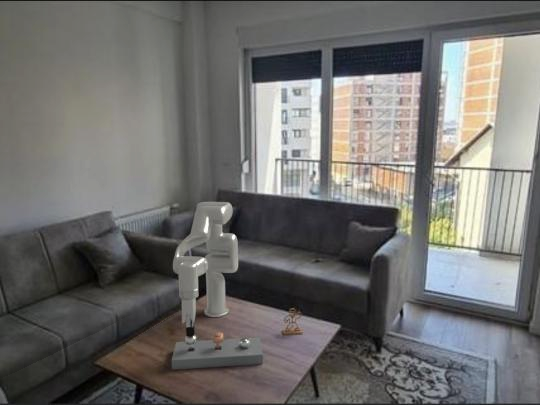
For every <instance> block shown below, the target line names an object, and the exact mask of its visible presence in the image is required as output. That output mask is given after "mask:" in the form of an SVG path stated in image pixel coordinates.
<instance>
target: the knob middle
mask: <svg viewBox="0 0 540 405" xmlns="http://www.w3.org/2000/svg"><path fill="white" fill-rule="evenodd" d="M211 339H212V340H213V342H214V343H216V348H217V349H219V348H220V343H221V342H223V339H224V333H223V332H219V331H218V332H215V333H213V334H212V337H211Z"/></svg>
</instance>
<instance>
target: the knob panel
mask: <svg viewBox="0 0 540 405" xmlns="http://www.w3.org/2000/svg"><path fill="white" fill-rule="evenodd" d="M241 338H242V337H240V338H239V337H238V338H225V339H224V338H223V342H221V343H220V348H219V349H217V348H216V343H214V342H213V339H207V340H203V339H202V340H196V343H195V344H193V350H189V345H187V344H186V343H185V341H176V342H175V346H174V350H173V353H172V357H171V370H187V369H201V368H216V367H231V366H232V367H233V366H248V365H249V366H251V365H263V364H264V357H263V355H264V353H263V349H262V348H263V347H262V342H261V337H259V336H258V337H247V338H248V339H250V347H249V348H246V349H243V348H240V347H239V340H240V339H241Z"/></svg>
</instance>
